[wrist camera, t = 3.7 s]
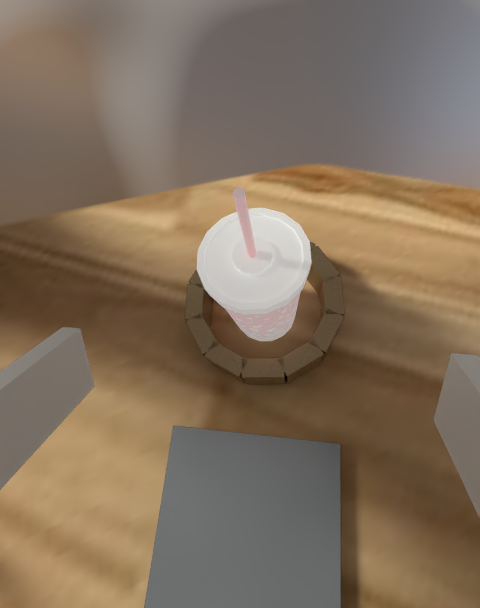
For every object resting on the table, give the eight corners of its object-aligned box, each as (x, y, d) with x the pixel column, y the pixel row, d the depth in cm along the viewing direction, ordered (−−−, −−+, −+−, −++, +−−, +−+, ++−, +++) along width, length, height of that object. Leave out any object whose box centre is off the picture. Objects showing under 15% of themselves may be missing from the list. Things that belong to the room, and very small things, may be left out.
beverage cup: (299, 357, 24) (307, 272, 12) (218, 344, 26) (144, 253, 13) (310, 281, 26) (327, 135, 14) (234, 272, 28) (184, 131, 15)
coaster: (147, 621, 20) (140, 630, 19) (177, 425, 24) (173, 425, 23) (338, 662, 18) (340, 674, 17) (338, 443, 22) (340, 443, 21)
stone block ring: (171, 339, 26) (156, 328, 24) (241, 232, 29) (235, 210, 26) (295, 413, 23) (295, 409, 20) (361, 284, 26) (370, 266, 23)
